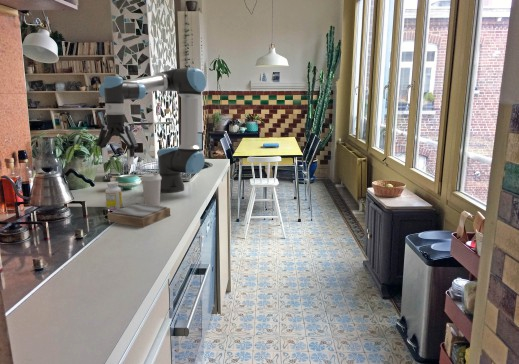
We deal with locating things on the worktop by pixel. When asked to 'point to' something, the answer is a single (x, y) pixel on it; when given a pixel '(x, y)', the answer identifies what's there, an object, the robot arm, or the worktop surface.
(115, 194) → the supplement bottle
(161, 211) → the plinth
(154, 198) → the coffee cup
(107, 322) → the worktop surface
